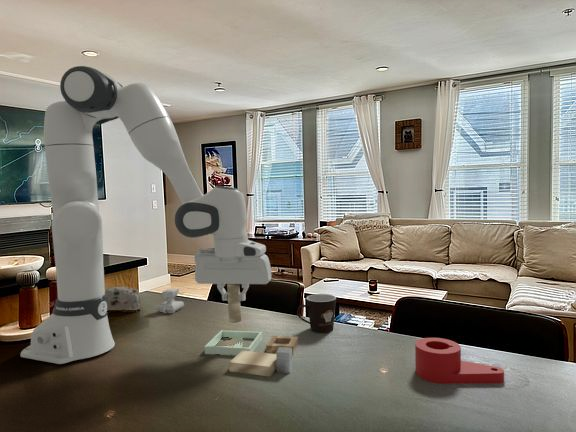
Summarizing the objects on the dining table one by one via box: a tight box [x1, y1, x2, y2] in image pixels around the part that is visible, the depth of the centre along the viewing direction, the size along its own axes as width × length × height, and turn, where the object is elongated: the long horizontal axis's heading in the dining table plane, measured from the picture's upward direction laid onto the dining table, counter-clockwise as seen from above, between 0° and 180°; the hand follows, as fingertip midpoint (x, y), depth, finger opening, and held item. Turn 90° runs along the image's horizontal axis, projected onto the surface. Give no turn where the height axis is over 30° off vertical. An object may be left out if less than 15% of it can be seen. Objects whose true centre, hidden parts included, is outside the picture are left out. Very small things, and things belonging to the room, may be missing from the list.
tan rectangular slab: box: [228, 351, 277, 377], centre depth 98 cm, size 10×7×3 cm
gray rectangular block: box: [275, 347, 293, 374], centre depth 96 cm, size 3×3×5 cm
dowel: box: [226, 284, 242, 324], centre depth 111 cm, size 3×3×10 cm
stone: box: [105, 286, 141, 310], centre depth 145 cm, size 13×6×10 cm, turn 76°
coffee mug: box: [296, 293, 337, 334], centre depth 122 cm, size 12×9×10 cm
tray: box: [204, 329, 263, 357], centre depth 111 cm, size 12×12×2 cm
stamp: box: [156, 288, 185, 314], centre depth 144 cm, size 9×7×8 cm
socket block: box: [265, 335, 299, 355], centre depth 109 cm, size 7×7×2 cm
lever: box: [414, 337, 505, 385], centre depth 91 cm, size 18×9×7 cm, turn 74°
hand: (234, 300), depth 111 cm, fingers closed on dowel, 3 cm apart
